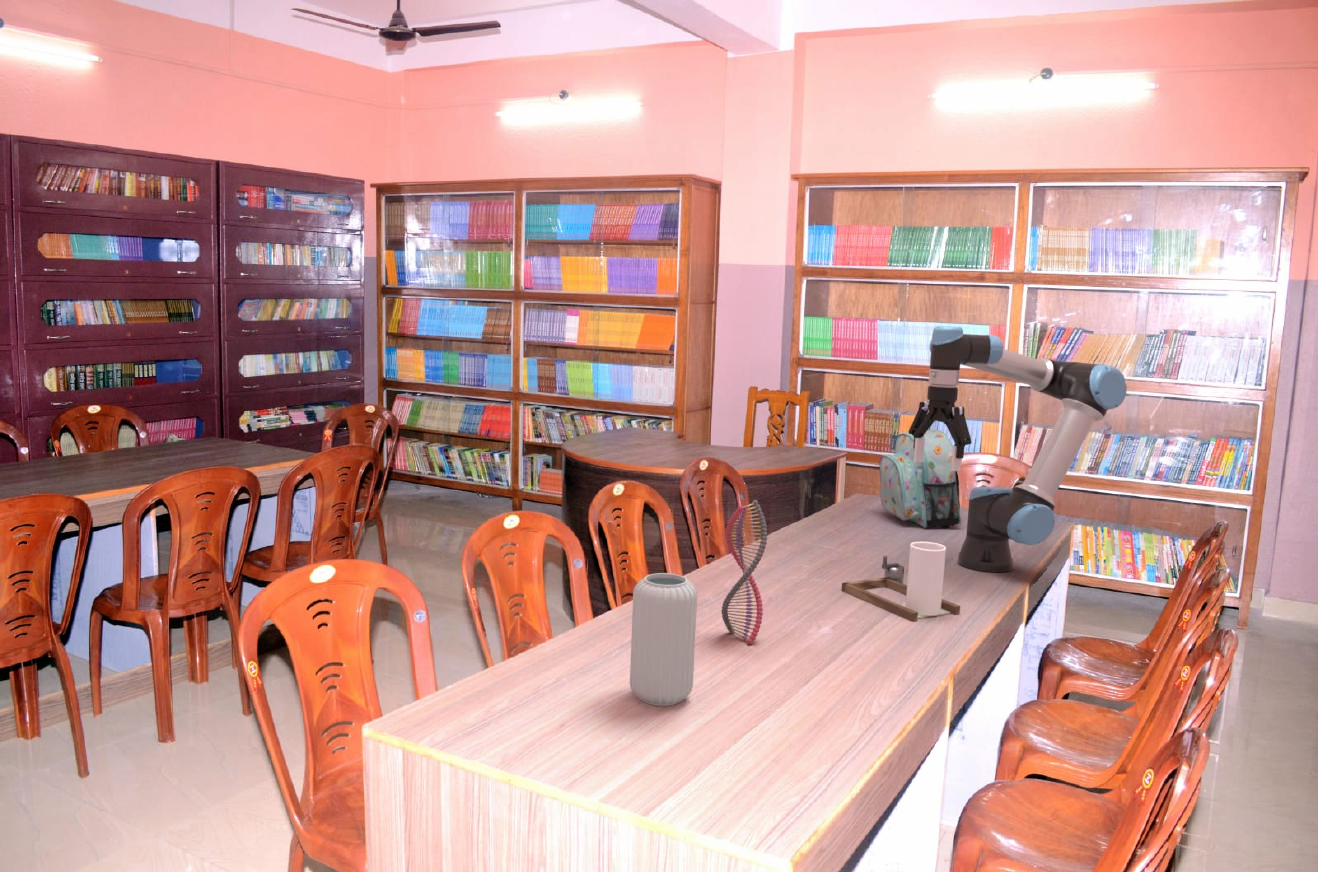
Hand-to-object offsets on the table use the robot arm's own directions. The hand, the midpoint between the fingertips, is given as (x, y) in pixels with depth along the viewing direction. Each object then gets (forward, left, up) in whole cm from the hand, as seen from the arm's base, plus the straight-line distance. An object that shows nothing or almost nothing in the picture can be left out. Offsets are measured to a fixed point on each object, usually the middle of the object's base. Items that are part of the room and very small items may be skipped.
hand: (936, 466), depth 254 cm
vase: (+102, +39, -32) cm, 114 cm away
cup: (+19, +19, -31) cm, 41 cm away
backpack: (-52, -60, -32) cm, 86 cm away
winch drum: (+10, -2, -32) cm, 33 cm away
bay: (+19, +10, -32) cm, 38 cm away
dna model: (+71, +18, -32) cm, 80 cm away
